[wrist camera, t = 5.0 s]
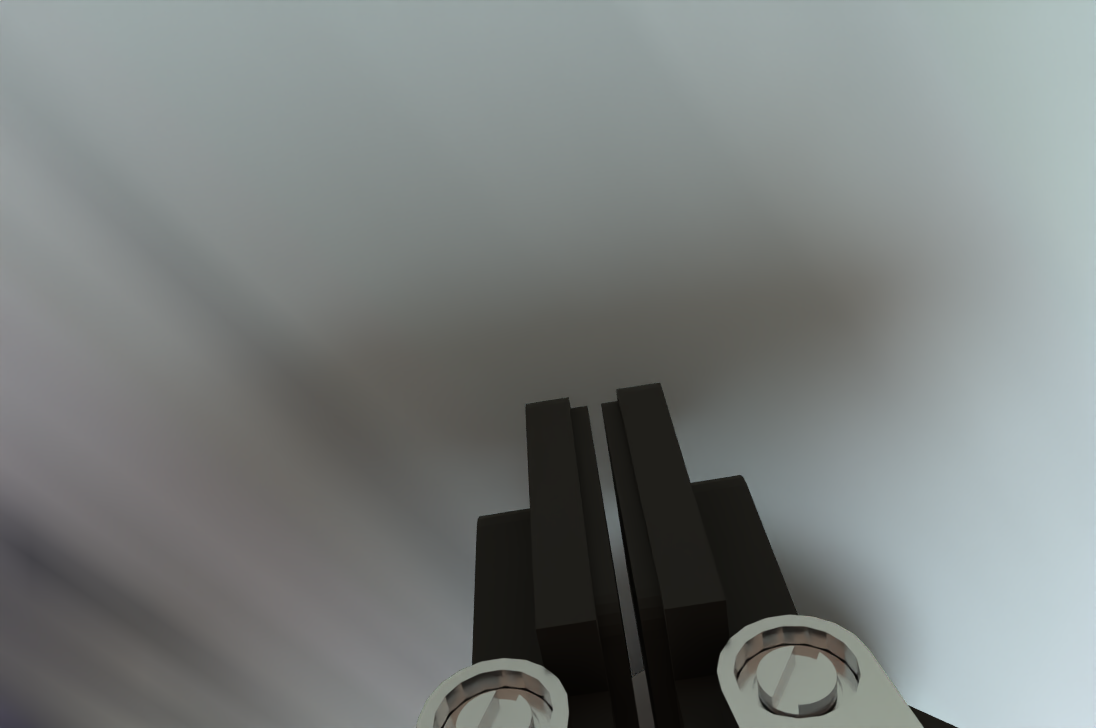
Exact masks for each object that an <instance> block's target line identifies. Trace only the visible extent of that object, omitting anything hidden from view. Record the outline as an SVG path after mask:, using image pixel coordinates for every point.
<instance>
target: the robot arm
mask: <svg viewBox="0 0 1096 728" xmlns="http://www.w3.org/2000/svg"><path fill="white" fill-rule="evenodd" d="M616 391H617V400H618V401H615V402H608V403H602V404H601V406H602V412H603V419H604V425H605V432H606V438H607V444H608V451H609V457H610V463H611V470H612V476H613V482H614V489H615V495H616V502H617V508H618V514H619V521H620V527H621V533H622V540H623V546H624V552H625V559H626V565H627V572H628V578H629V584H630V590H631V596H632V602H633V607H634V613H635V619H636V624H637V630H638V635H639V641H640V647H641V652H642V658H643V664H644V669H645V675H646V681H647V686H648V692H649V698H650V703H651V709H652V714H653V720H654V726H655V728H957V727H955V726H953V725H951V724H949V723H946V722H944V721H942V720H940V719H937V718H935V717H933V716H931V715H929V714H926V713H924V712H922V711H920V710H918V709H915V708H913V707H911V706H909V705H908V704H907V703H906V702H905V700H904V699H903V697H902V696H901V694H900V693H899V691H898V690H897V689H896V687H895V686H894V684H893V683H892V681H891V680H890V679H889V677H888V676H887V674H886V673H885V671H884V670H883V668H882V667H881V666H880V664H879V663H878V661H877V660H876V658H875V657H874V656H873V654H872V653H871V651H870V650H869V649H868V648H867V647H866V646H865V645H864V643H863V642H862V641H861V640H860V639H859V638H858V637H857V636H856V635H855V634H853V633H851V632H850V631H848V630H846V629H845V628H843V627H841V626H839V625H838V624H836V623H833V622H830V621H826V620H823V619H820V618H816V617H813V616H801V615H798V614H797V612H796V609H795V607H794V604H793V602H792V599H791V596H790V594H789V591H788V589H787V586H786V584H785V581H784V579H783V576H782V573H781V571H780V568H779V566H778V563H777V561H776V558H775V556H774V553H773V550H772V548H771V545H770V543H769V540H768V538H767V535H766V533H765V530H764V527H763V525H762V522H761V520H760V517H759V515H758V512H757V510H756V507H755V504H754V502H753V499H752V497H751V494H750V492H749V489H748V487H747V484H746V482H745V480H744V478H743V477H742V476H741V475H738V476H732V477H725V478H719V479H713V480H706V481H700V482H694V483H690V480H689V477H688V473H687V470H686V467H685V463H684V460H683V457H682V454H681V450H680V447H679V444H678V440H677V437H676V434H675V430H674V427H673V424H672V421H671V417H670V414H669V411H668V407H667V404H666V401H665V397H664V394H663V391H662V387H661V385H660V383H654V384H648V385H641V386H635V387H629V388H623V389H617V390H616ZM525 409H526V431H527V452H528V474H529V496H530V508H529V509H523V510H517V511H510V512H504V513H498V514H492V515H485V516H479V518H478V521H477V536H476V565H475V595H474V624H473V653H472V666H469V667H467V668H464V669H462V670H460V671H458V672H457V673H455V674H454V675H452V676H451V677H449V678H448V679H446V680H445V681H444V682H442V683H441V684H440V685H439V686H438V687H437V688H436V690H435V691H434V692H433V693H432V694H431V695H430V696H429V698H428V699H427V700H426V702H425V705H424V707H423V709H422V711H421V713H420V715H419V717H418V721H417V725H416V728H640V726H639V720H638V714H637V708H636V701H635V695H634V689H633V683H632V676H631V670H630V664H629V658H628V651H627V645H626V639H625V633H624V626H623V620H622V614H621V608H620V601H619V595H618V589H617V583H616V577H615V571H614V565H613V559H612V553H611V546H610V540H609V534H608V528H607V522H606V516H605V510H604V504H603V498H602V492H601V486H600V480H599V474H598V468H597V462H596V455H595V449H594V443H593V437H592V431H591V425H590V419H589V413H588V407H587V406H584V407H578V408H571V407H570V402H569V397H567V398H561V399H555V400H549V401H543V402H536V403H530V404H526V407H525Z"/></svg>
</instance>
